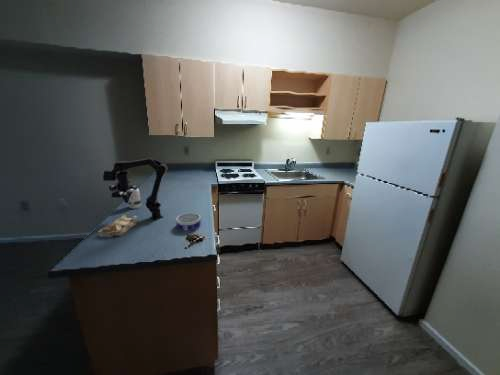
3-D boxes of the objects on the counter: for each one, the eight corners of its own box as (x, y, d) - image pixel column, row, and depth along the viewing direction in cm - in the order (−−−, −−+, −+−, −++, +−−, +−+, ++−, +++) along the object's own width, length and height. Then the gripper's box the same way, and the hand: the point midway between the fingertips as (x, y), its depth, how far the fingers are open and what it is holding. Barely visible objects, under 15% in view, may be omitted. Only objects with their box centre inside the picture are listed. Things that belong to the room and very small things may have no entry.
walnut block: (111, 229, 132) (109, 223, 131) (116, 230, 131) (115, 224, 130) (103, 234, 126) (102, 228, 125) (109, 235, 126) (108, 229, 124)
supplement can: (130, 205, 170) (127, 187, 165) (141, 204, 173) (139, 186, 168) (128, 209, 162) (125, 190, 158) (140, 208, 165) (138, 189, 161)
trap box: (126, 218, 148) (125, 214, 147) (142, 219, 147) (141, 215, 146) (98, 236, 125) (97, 231, 124) (117, 238, 124) (116, 233, 123)
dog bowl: (176, 232, 131) (175, 224, 130) (177, 221, 145) (176, 213, 144) (201, 230, 136) (201, 221, 134) (200, 219, 150) (199, 211, 148)
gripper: (120, 176, 149) (124, 197, 153) (100, 184, 131) (105, 207, 136) (135, 177, 148) (139, 198, 153) (118, 185, 130) (122, 208, 135)
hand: (126, 202), depth 144 cm, fingers closed
